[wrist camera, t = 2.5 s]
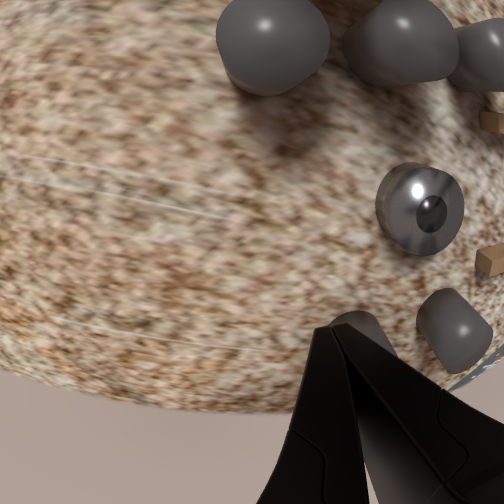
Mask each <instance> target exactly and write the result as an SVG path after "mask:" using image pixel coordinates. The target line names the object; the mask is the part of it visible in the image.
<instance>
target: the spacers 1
mask: <svg viewBox="0 0 504 504" xmlns="http://www.w3.org/2000/svg"><path fill="white" fill-rule="evenodd" d="M216 42H217V46H218V50H219V53H220V55H221V58H222V61H223V64H224V67H225V70H226V72H227V75H228V76H229V78H230V79H231V81H232V82H233V83H234V84H235V85H236V86H237V87H239V88H240V89H241V90H243V91H245V92H247V93H249V94H252V95H256V96H262V97H269V96H276V95H280V94H283V93H285V92H287V91H289V90H290V89H292V88H293V87H295V86H296V85H298V84H299V83H301V82H302V81H304V80H305V79H306V78H308V77H309V76H311V75H312V74H313V73H315V72H316V71H317V70H318V69H319V68H320V67H321V65H322V64H323V63H324V61H325V59H326V57H327V55H328V52H329V48H330V32H329V28H328V25H327V22H326V20H325V18H324V17H323V15H322V14H321V12H320V11H319V10H318V9H317V7H316V6H314V5H313V4H312V3H311V2H310V1H308V0H234V1H232V2H231V3H230V4H229V5H228V6H227V7H226V8H225V10H224V11H223V12H222V14H221V16H220V18H219V20H218V23H217V28H216ZM343 52H344V56H345V59H346V61H347V63H348V65H349V66H350V68H351V69H352V71H353V72H354V73H355V74H356V75H357V76H358V77H359V78H360V79H362V80H363V81H365V82H366V83H368V84H370V85H373V86H376V87H382V88H388V87H395V86H401V85H407V84H414V83H421V82H429V81H437V80H441V79H444V78H446V77H447V78H448V79H449V80H450V81H451V83H452V84H454V85H455V86H456V87H457V88H459V89H461V90H463V91H468V92H475V91H485V92H504V19H502V18H493V19H489V20H485V21H481V22H477V23H473V24H470V25H466V26H463V27H459V28H456V29H453V27H452V25H451V23H450V22H449V20H448V19H447V17H446V16H445V15H444V13H443V12H442V11H441V10H440V9H439V8H438V7H437V6H435V5H434V4H433V3H431V2H430V1H428V0H384V1H383V2H381V3H380V4H379V5H377V6H376V7H375V8H373V9H372V10H371V11H369V12H368V13H367V14H365V15H364V16H363V17H362V18H360V19H359V20H358V21H357V22H355V23H354V24H353V25H352V26H351V27H350V28H349V29H348V30H347V31H346V34H345V36H344V39H343Z"/></svg>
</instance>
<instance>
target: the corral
mask: <svg viewBox="0 0 504 504" xmlns="http://www.w3.org/2000/svg"><path fill="white" fill-rule="evenodd" d="M479 112H480V123H481V130H485V131H491V132H496V133H504V113H495V112H483V111H479ZM475 266H476V267H478V268H479V269H480V270H481V271H483V272H484V273H485V274H486V275H488V276H489V277H491V276H494V275H497V274H500V273H503V272H504V243H502V244H499V245H495V246H491V247H487V248H483V249H479V250H477V255H476V262H475Z"/></svg>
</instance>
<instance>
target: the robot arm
mask: <svg viewBox="0 0 504 504" xmlns="http://www.w3.org/2000/svg"><path fill="white" fill-rule="evenodd" d="M364 462H365V465H366V468H367V471H368V474H369V476H370V479H371V482H372V485H373V488H374V490H375V494H376V497H377V499H378V502H379V504H504V424H502V423H501V422H499V421H497V420H494V419H493V418H491V417H489V416H487V415H485V414H483V413H481V412H480V411H478V410H476V409H474V408H472V407H470V406H469V405H468V404H466V403H464V402H463V401H461V400H459V399H458V398H457V397H455V396H454V395H452V394H451V393H449V392H448V391H446V390H445V389H442V390H441V387H440V386H439V385H437V384H436V383H434V382H433V381H431V380H430V379H429V378H427V377H426V376H424V375H423V374H421V373H420V372H418V371H417V370H415V369H414V368H413V367H411V366H410V365H408V364H407V363H405V362H404V361H402V360H401V359H399V358H398V357H397V356H395V355H394V354H392V353H391V352H389V351H388V350H386V349H385V348H383V347H382V346H381V345H379V344H378V343H376V342H375V341H373V340H372V339H370V338H369V337H368V336H366V335H365V334H363V333H362V332H360V331H359V330H357V329H356V328H354V327H353V326H352V325H350V324H349V323H347V322H343V323H338V324H333V325H332V326H331V327H330V326H324V327H318V328H315V329H314V332H313V337H312V341H311V345H310V349H309V354H308V358H307V362H306V366H305V370H304V374H303V378H302V382H301V385H300V389H299V393H298V397H297V400H296V404H295V408H294V411H293V415H292V418H291V422H290V425H289V430H288V432H287V435H286V438H285V441H284V444H283V447H282V450H281V453H280V456H279V458H278V461H277V464H276V466H275V468H274V470H273V473H272V475H271V477H270V479H269V481H268V483H267V485H266V487H265V489H264V490H263V492H262V494H261V496H260V498H259V500H258V501H257V503H256V504H369V495H368V488H367V479H366V473H365V465H364Z"/></svg>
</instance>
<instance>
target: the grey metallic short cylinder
mask: <svg viewBox="0 0 504 504" xmlns="http://www.w3.org/2000/svg"><path fill="white" fill-rule="evenodd" d="M375 208H376V215H377V218H378V221H379V223H380V225H381V227H382V228H383V229H384V231H386V232H387V233H388V234H389V235H390V236H391V237H392V238H393V239H395V240H396V241H397V242H398V243H399V244H400V245H401V246H403V247H404V248H405V249H406V250H407V251H409V252H410V253H412V254H415V255H418V256H429V255H433V254H436V253H438V252H440V251H441V250H443V249H444V248H446V247H447V246H448V245H449V244H450V243H451V242H452V240H453V239H454V238H455V236H456V235H457V233H458V231H459V229H460V227H461V224H462V220H463V216H464V198H463V194H462V191H461V188H460V186H459V184H458V183H457V181H456V180H455V179H454V178H453V177H452V176H451V175H449V174H448V173H446V172H444V171H441V170H438V169H435V168H432V167H429V166H425V165H422V164H419V163H413V162H410V163H404V164H401V165H399V166H397V167H395V168H393V169H392V170H391V171H390V172H389V173H388V174H387V175H386V176H385V177H384V179H383V180H382V182H381V184H380V186H379V188H378V191H377V195H376V202H375Z"/></svg>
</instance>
